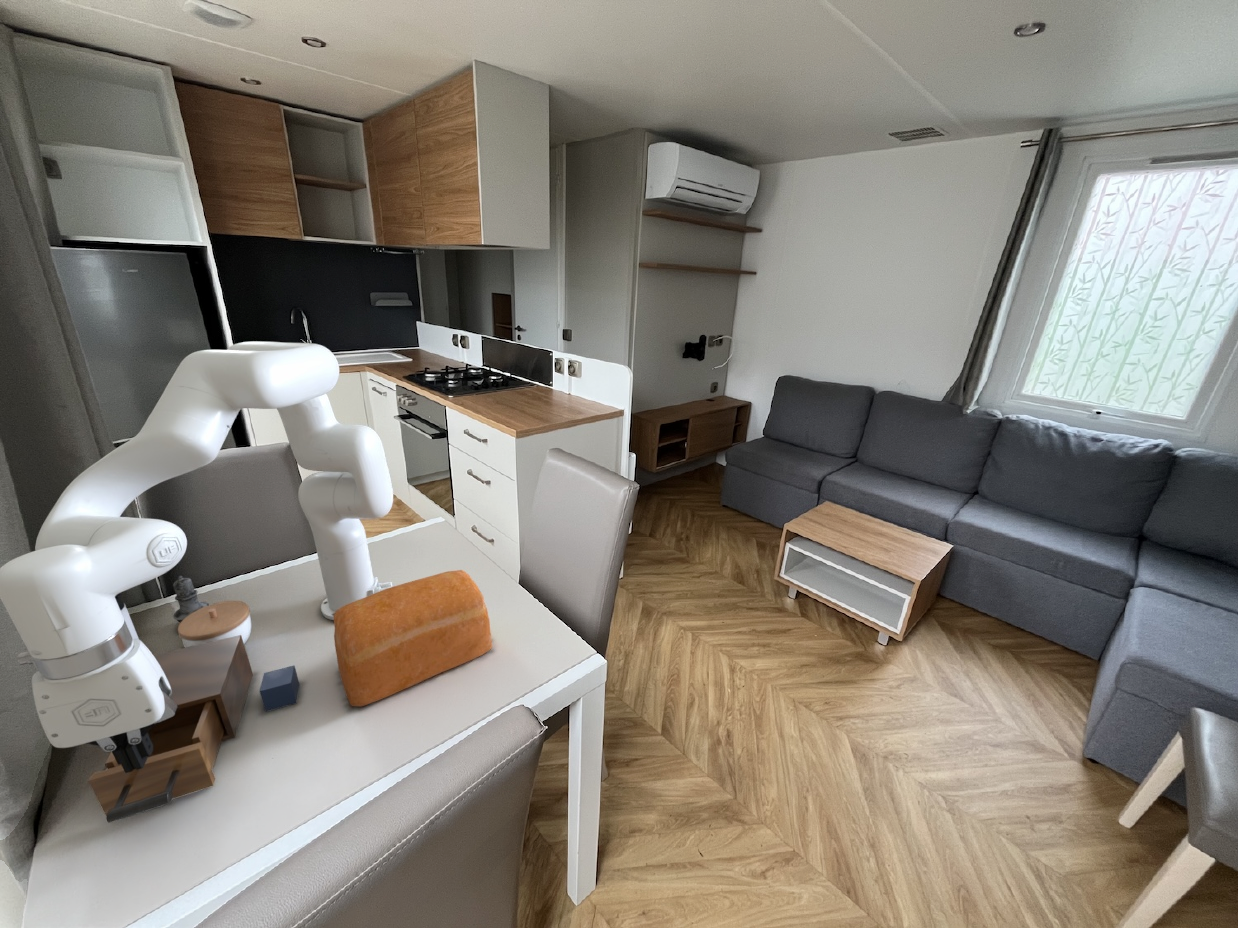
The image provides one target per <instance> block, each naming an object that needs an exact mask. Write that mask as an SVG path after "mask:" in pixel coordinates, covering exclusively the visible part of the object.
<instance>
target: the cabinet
mask: <svg viewBox="0 0 1238 928" xmlns="http://www.w3.org/2000/svg"><path fill="white" fill-rule="evenodd" d="M153 656H154V657H155V658H156V660H157V662H158V663H159V665H160V666H161V668H162V670H163V672H164V674H165V676H166V678H167V680H168V682H169V684H170V687H171V690H172V695H171V696H170V698H171V699H172V700H173V701H174V703H175V704H176V705H177V706H178V708H177V709H181V708H184V707H188V706H192V705H196V704H199V703H203V702H207V701H211V700H216V703H217V706H218V709H219V712H220V715H221V717H222V720H223V723H224V726H225V731H224V734H223V737H222V740H221V743H223V742H225V741H229V740H232V739H235V738H236V737H237V736H236V735H237V733H238V729H239V727H240V726H239V725H240V722H241V718H242V715H243V711H244V708H245V705H246V701H247V698H248V694H249V691H250V688H251V684H252V681H253V677H254V672H253V669H252V666H251V663H250V659H249V657H248V653H247V650H246V646H245V644H244V643H243V640H242V636H241V635H239V636H234V637H230V638H225V639H221V640H217V641H212V642H208V643H203V644H199V645H194V646H190V647H182V648H177V649H173V650H167V651H164V652H159V653H154V654H153ZM148 711H149V709H148Z"/></svg>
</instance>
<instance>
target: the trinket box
mask: <svg viewBox="0 0 1238 928" xmlns="http://www.w3.org/2000/svg"><path fill="white" fill-rule="evenodd" d="M250 612H251V611H250V607H249V605H248V603H246V602H244V601H241V600H224V601H220V602H214V603H212V604H209V606H206V607H203V608H201V609H199V610H197V611H195V612H193V613H192V614H190V615H189V616H187V617H186V618H185V619H184V620H183V621H182V622H181V623H179V624H178V627H177V633H178V635H179V637H180V638H181V641H182V643H183V645H184V648H186V647H190V646H194V645H199V644H203V643H208V642H212V641H217V640H221V639H225V638H230V637H234V636H239V635H241V636H242V640H243V643H244V645H245V644H246V643H247V641H248V640H249V638H250V635H251V633H252V629H253V627H252V625H253V624H252V617H251V613H250Z"/></svg>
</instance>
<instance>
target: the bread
mask: <svg viewBox="0 0 1238 928" xmlns="http://www.w3.org/2000/svg"><path fill="white" fill-rule="evenodd" d="M393 586H394V587H391V588H387V589H385V590H382V591H380V592H377V593H375V594H373V595H370V596H368V597H365V598H362V599H360V600H357V601H355V602H352V603H349V604H347V605H345V606H343V607H341V608H339V609H338V610H337V611H336V612H335V614H334V615H333V616H334V620H333V623H334V624H333V625H334V633H333V638H334V639H333V640H334V647H335V648H334V649H335V654H336V661H337V666H338V672H339V676H340V680H341V684H342V688H343V690H344V692H345V696H346V699H347V702H348V704H349V705H350V706H351V707H364V706H368V705H370V704H372V703H375V702H377V701H380V700H382V699H386V698H388V697H390V696H392V695H394V694H396V693H398V692H401V691H403V690H405V689H407V688H410V687H412V686H415V685H417V684H419V683H421V682H423V681H426V680H427V679H430V678H432V677H435V676H437V675H439V674H441V673H444V672H446V671H448V670H451V669H453V668H456V667H458V666H462V665H463V664H466V663H468V662H470V661H472V660H475V659H477V658H479V657H481V656H483V655H485V654H486V653H487V652H489V651H490V650H491V649H492V647H493V644H492V643H493V642H492V631H491V624H490V623H491V622H490V617H489V612H488V608H487V606H486V603H485V600H484V594H483V593H482V591H481V589H480V587H478V585H477V584H476V582H475V581H474V580H473V578H472V577H471V575H469V573H467V572H466V571H464V570H462V569H457V570H448V571H444V572H440V573H437V574H433V575H430V576H426V577H422V578H418V579H414V580H411V581H408V582H404V583H402V584H397V585H393Z"/></svg>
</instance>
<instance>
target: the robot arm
mask: <svg viewBox="0 0 1238 928" xmlns="http://www.w3.org/2000/svg"><path fill="white" fill-rule="evenodd" d="M339 377H340V365H339V361H338V360H337V358H336V356H335V354H334V352H332V351H331V350H330V349H329V348H327V347H326V346H325V345H321V344H318V343H310V342H280V341H261V340H260V341H257V340H256V341H254V340H253V341H243V342H238V343H237V342H236V343H234V344H232V345H230V346H229V347H228V348H227V349H202V350H197V351H194V352H191V353H190V354H188V355H187V356H185V357H184V358H183V359H182V360H181V361H180V363H179V365H178V366H177V368H176V370H175V372H174V373H173V375H172V377H171V379H170V380H169V382H168V383H167V384H166V387H165V388H164V390H163V392H162V393H161V396H160V398H159V399H158V401H157V402H156V404H155V406H154V407H153V409H152V411H151V413H150V414H149V415H148V417H147V419H146V421H145V422H144V424H143V426H142V427H141V429H140V431H139V432H138V433H137V434H136V435H135V436H134V437H132V438H131V439H130V440H128V441H126V442H124V443H122V444H121V445H119V446H118V447H116V448H115V449H113V450H112V451H110V452H108V453H107V454H106V455H104V456H103V457H101V458H100V459H98V461H96V462H94V463H93V464H92V465H90V466H89V467H88V468H86V469H84V470H83V471H82V472H81V473H79V474H78V475H77V476H76V477H75V478H74V479H73V480H71V482H70V483H69V484H68V485H67V486H66V488H65V489H64V490H63V492H62V493H61V494H60V496H59V498H58V499H57V500H56V502H55V504H54V505H53V507H52V508H51V510H50V511H49V513H48V515H47V516H46V517H45V520H44V522H43V524H42V525H41V528H40V530H39V531H38V535H37V537H36V541H35V546H34V547H35V548H34V550H33V551H31V552H27V553H25V554H22V555H19V556H17V557H15V558H13V559H11V560H10V561H8V562H6V563H4V564H3V565H2V566H1V567H0V600H1V602H2V604H3V606H4V608H5V609H6V612H7V614H8V616H9V618H10V620H11V622H12V623H13V625H14V627H15V629H16V630H17V632H18V634H19V636H20V638H21V640H22V643H23V644H24V645H25V648H26V649H27V651H23V652H20V653H18V655H17V657H16V662H17V664H18V665H19V666H24V665H33V666H34V668H35V670H36V671H35V673H34V674H33V675H32V676H31V689H32V695H33V702H34V707H35V709H36V713H37V717H38V719H39V722H40V725H41V727H42V729H43V732H44V734H45V736H46V738H47V739H48V741H49V743H50V744H51V745H52V746H53V747H54V748H57V749H67V748H73V747H77V746H81V745H85V744H86V745H91V746H97V747H100V748H101V749H102V750H103V751H104V752H106V753H111V752H112V753H113V755H114V757H115V759H116V761H117V763H118V764H119V765H120V764H121V765H122V767H123V769H124V771H125V773H128V772H132V771H133V770H134V769H136V770H138V769H142V768H143V767H144V765H145V763H146V760H147V758H148V756H150V755H151V754H152V752H153V744H152V742H151V739H150V737H149V735H148V733H147V732H148V731H149V730H150V729H151V728H152V727H153V726H154V724H155V723H159V722H162V721H164V720H166V719H168V718H170V717H173V716H174V715H175V712H176V710H177V708H178V706H177V705H176V704H175V703H174V701H173V700H172V699H171V698H170V696H171V695H172V690H171V687H170V684H169V682H168V680H167V678H166V676H165V674H164V672H163V670H162V668H161V666H160V665H159V663H158V662H157V660H156V658H155V657H154V656H153V655H154V654H153V652H152V651H151V650H150V649H149V648H148V647H147V646H146V644H145V643H144V642H143V641H142V640H141V639H140V638H139V639H132V636H131V634H130V632H129V629H128V627H127V625H126V622H125V620H124V617H123V615H122V613H121V610H120V608H119V606H118V603H117V601H116V599H115V596H116V595H117V594H118V593H120V594H121V593H122V592H125V591H128V590H130V589H132V588H135V587H137V586H139V585H143V584H145V583H147V582H149V581H151V580H154V579H156V578H158V577H160V576H162V575H164V574H167V573H168V572H169V571H170V570H172V569H173V568H174V567H175V566H177V564H179V563H180V562H181V560H182V559H183V557H184V555H185V554H186V551H187V548H188V547H187V546H188V540H187V537H186V534H185V532H184V531H183V529H182V528H181V527H179V526H178V525H177V524H174V523H172V522H170V521H167V520H163V519H158V518H148V517H147V518H144V517H129V516H122V514H123V513H124V512H125V510H126V509H127V508H128V506H129V505H130V504H132V502H133V501H134V500H135V499H136V498H138V497H139V496H140V495H141V494H143V493H145V492H146V491H147V490H150V489H151V488H152V487H155V486H156V485H159V484H161V483H163V482H166V481H168V480H171V479H173V478H177V477H180V476H182V475H184V474H187V473H190V472H193V471H195V470H198V469H201V468H202V467H203V468H204V467H205V466H207V465H209V464H212V462H213V461H214V460H216V458H217V457H218V456H219V453H220V451H221V449H222V447H223V445H224V442H225V440H226V438H227V436H228V434H229V432H230V430H231V428H232V426H233V424H234V422H235V420H236V419H237V416H238V415H239V412H240V411H241V410H243V409H255V410H257V409H260V410H277V412H278V415H279V417H280V419H281V422H282V425H283V428H284V431H285V434H286V437H287V440H288V443H289V446H290V449H291V452H292V455H293V457H294V459H295V461H296V463H297V464H298V466H300V467H301V469H304V470H307V471H311V472H312V471H313V472H314V473H312V474H309V475H308V476H306V477H305V478H304V479H303V480H302V481H301V483H300V485H299V487H298V490H297V497H298V503H299V505H300V508H301V510H302V512H303V514H304V517H305V518H306V520H307V523H308V524H309V527H310V530H311V533H312V537H313V541H314V545H315V549H316V554H317V558H318V563H319V567H320V568H319V569H320V572H321V576H322V581H323V586H324V590H325V593H326V597H325V598H324V599H323V601H322V603H321V604H320V611H321V614H322V616H323V617H324V618H325V619H328V620H330V621H334V616H333V615H334V614H335V612H336V611H337V610H338V609H339V608H341V607H343V606H345V605H347V604H349V603H352V602H355V601H357V600H360V599H362V598H365V597H368V596H370V595H373V594H375V593H377V592H380V591H382V590H385V589H387V588H391V587H394V586H395V585H393V582H392V581H386V582H381V581H379V578H378V576H374V574H373V573H374V572H373V568H372V561H371V556H370V551H369V546H368V540H367V533H366V530H365V527H364V525H363V523H362V521H361V520H378V519H381V518H384V517H386V516H387V515H388V514H389V512H390V511H391V509H392V508H393V505H394V489H393V484H392V479H391V475H390V469H389V466H388V462H387V457H386V453H385V448H384V445H383V441H382V439H381V437H380V436H379V435H378V432H376V430H374V429H373V428H372V427H370V426H368V425H365V424H358V423H341V422H339V421H338V420H337V418H336V416H335V414H334V410H333V407H332V404H331V401H330V398H329V396H328V393H329V392H330V391H332V390H333V389H334V387H335V386H336V385H337V383H338V381H339ZM148 709H149V711H148Z"/></svg>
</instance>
